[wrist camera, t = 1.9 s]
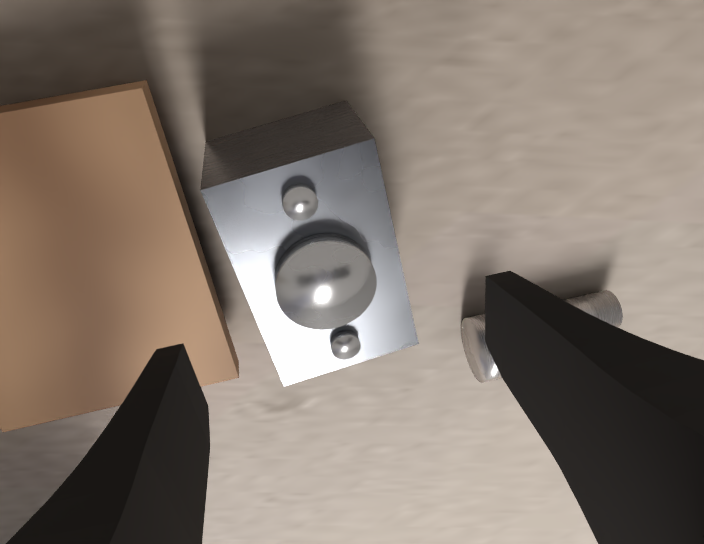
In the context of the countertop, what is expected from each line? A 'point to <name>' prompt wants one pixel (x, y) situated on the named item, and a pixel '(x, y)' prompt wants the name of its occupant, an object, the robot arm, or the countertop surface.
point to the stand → (96, 257)
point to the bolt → (479, 354)
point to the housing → (311, 239)
